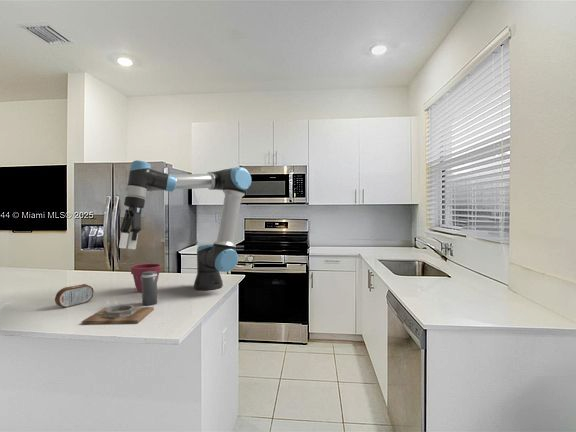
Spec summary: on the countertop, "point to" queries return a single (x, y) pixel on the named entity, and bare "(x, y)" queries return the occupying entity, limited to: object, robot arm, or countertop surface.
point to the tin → (74, 295)
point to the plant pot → (141, 268)
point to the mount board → (119, 320)
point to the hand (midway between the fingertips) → (126, 248)
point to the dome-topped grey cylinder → (149, 288)
